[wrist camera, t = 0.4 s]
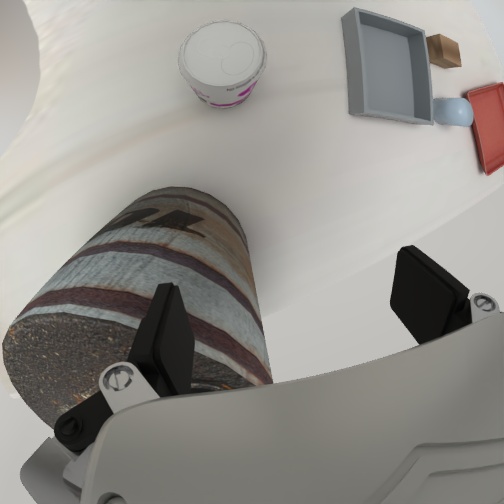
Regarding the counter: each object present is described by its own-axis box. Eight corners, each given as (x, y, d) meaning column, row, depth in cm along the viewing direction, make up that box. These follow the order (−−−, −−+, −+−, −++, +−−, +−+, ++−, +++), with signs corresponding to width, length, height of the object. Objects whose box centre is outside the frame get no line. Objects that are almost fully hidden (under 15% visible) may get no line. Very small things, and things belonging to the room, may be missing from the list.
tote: (341, 18, 28) (354, 7, 23) (408, 36, 29) (424, 30, 24) (349, 114, 35) (364, 112, 31) (415, 124, 36) (433, 125, 31)
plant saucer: (456, 92, 33) (467, 92, 30) (494, 81, 31) (504, 81, 28) (476, 173, 41) (486, 177, 38) (510, 151, 39) (519, 154, 36)
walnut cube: (422, 38, 29) (439, 33, 24) (441, 46, 29) (457, 43, 25) (426, 61, 31) (443, 58, 26) (444, 68, 31) (461, 66, 27)
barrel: (142, 161, 36) (-11, 239, 9) (274, 227, 42) (349, 390, 15) (100, 280, 43) (21, 417, 16) (211, 329, 49) (209, 485, 22)
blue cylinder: (429, 95, 34) (455, 94, 27) (447, 101, 34) (472, 102, 28) (430, 121, 36) (456, 123, 29) (448, 126, 36) (473, 129, 30)
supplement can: (263, 70, 32) (284, 36, 18) (236, 118, 35) (241, 107, 21) (211, 48, 30) (203, 4, 16) (184, 96, 32) (159, 74, 19)
